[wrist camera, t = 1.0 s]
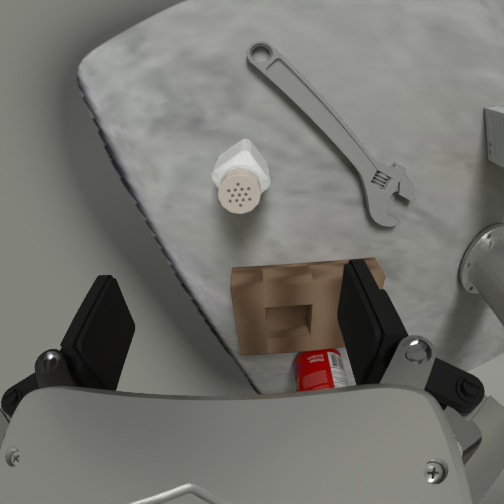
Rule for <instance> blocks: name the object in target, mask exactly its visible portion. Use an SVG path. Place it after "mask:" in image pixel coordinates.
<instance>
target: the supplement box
mask: <svg viewBox="0 0 504 504" xmlns="http://www.w3.org/2000/svg"><path fill="white" fill-rule="evenodd" d="M485 120H486V133H487V150H488V160H490V161H492V162H493V163H495V164H497V165H499V166H501V167H502V168H504V106H502V107H485Z"/></svg>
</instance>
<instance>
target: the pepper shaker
mask: <svg viewBox="0 0 504 504" xmlns="http://www.w3.org/2000/svg"><path fill="white" fill-rule="evenodd" d="M211 177H212V181H213V182H214V183H215V185H216V186H217V188H218V189H219V191H218V198H219V201H220V203H221V205H222V207H224V208H225V209H227V210H228V211H229V212H231V213H237V214H244V213H247V212H250V211H252V210H253V209H254V208H255V207H256V206H257V205H258V204H259V202H260V197H261V193H263V192H264V191H266V190H267V189H268V188H269V186H270V184H271V181H270V175H269V170H268V165H267V162H266V161H265V159H264V158H263V157H262V155H261V154H260V152H259V151H258V150H257V148H256V147H255V146H254V144H253V143H252V142H251V141H250V140H249V139H243V140H241V141H239V142H238V143H237V144H235V145H234V146H232V147H231V148H229V149H228V150H227V151H225V152H224V153H222V154H221V155H220V156H219V157H218V159H217V161H216V163H215V166H214V168H213V171H212V173H211Z"/></svg>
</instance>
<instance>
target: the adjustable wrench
mask: <svg viewBox="0 0 504 504" xmlns="http://www.w3.org/2000/svg"><path fill="white" fill-rule="evenodd" d="M256 47H265V48H267V49H268V51H269V53H270V56H269V58H268V59H267V60H266V61H264V62H258V61H256V60H254V58H253V57H252V52H253V50H254V49H255V48H256ZM247 57H248V60H249V61H250V63H251V64H253V65H254V66H255V67H256V68H257V69H258V70H259V71H261V72H262V73H263V74H264V75H265V76H266V77H267V78H269V79H270V80H271V81H272V82H273V83H274V84H275V85H276V86H277V87H278V88H279V89H281V90H282V91H283V92H284V93H285V94H286V95H287V96H288V97H289V98H290V99H291V100H292V101H293V102H294V103H295V104H296V105H297V106H298V107H299V108H300V109H301V110H302V111H303V112H304V113H305V114H306V115H307V116H308V117H309V118H310V119H311V120H312V121H313V122H314V123H315V124H316V125H317V126H318V127H319V128H320V129H321V130H322V131H323V132H324V133H325V134H326V135H327V136H328V138H329V139H330V140H331V141H332V142H333V143H334V144H335V145H336V146H337V147H338V148H339V150H340V151H341V152H342V153H343V154H344V155H345V156H346V157H347V159H348V160H349V161H350V162H351V163H352V164H353V166H354V167H355V168H356V170H357V172H358V174H359V176H360V179H361V183H362V186H363V190H364V195H365V201H366V208H367V210H368V212H369V214H370V215H371V217H372V218H373V219H374V221H375V222H377V223H378V224H380V225H382V226H387V227H393V226H397V225H399V224H400V223H401V221H400V220H399V219H398V218H397V217H395V216H393V215H391V214H389V213H387V202H388V201H389V199H390V198H391V196H392V194H393V193H394V192H397V193H398V194H399V195H401V196H403V197H405V198H406V199H408V200H410V201H412V202H414V200H415V191H414V187H413V184H412V182H411V180H410V179H409V177H408V176H407V175H406V174H405V173H404V172H405V170H406V168H404V167H403V166H401V165H398V164H397V163H394V165H393V166H389V165H385V164H382V163H379V162H377V161H376V160H375V159H374V158H373V157H372V156H371V155H370V153H369V152H368V151H367V149H366V148H365V147H364V146H363V144H362V143H361V142H360V140H359V139H358V138H357V137H356V135H355V134H354V133H353V132H352V130H351V129H350V128H349V127H348V125H347V124H346V123H345V122H344V121H343V119H342V118H341V117H340V116H339V115H338V114H337V112H336V111H335V110H334V109H333V108H332V107H331V106H330V104H329V103H328V102H327V101H326V100H325V99H324V98H323V97H322V95H321V94H320V93H319V92H318V91H317V90H316V89H315V88H314V87H313V86H312V85H311V84H310V83H309V82H308V80H307V79H306V78H305V77H304V76H303V75H302V74H301V73H300V72H299V71H298V70H297V69H296V68H295V67H294V66H293V65H292V64H291V63H290V62H289V61H288V60H287V59H286V58H285V57H284V56H282V55H281V54H280V53H279V52H278V51H277V50H276V49H275V48H274V47H273V46H272V45H271V44H269V43H267V42H264V41H257V42H254V43H253V44H251V45H250V46H249V48H248V50H247ZM377 170H378V172H376V171H377ZM375 173H376V175H375ZM373 177H374V179H373ZM372 180H373V181H372ZM371 181H372V182H371Z"/></svg>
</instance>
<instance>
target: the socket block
mask: <svg viewBox="0 0 504 504" xmlns="http://www.w3.org/2000/svg"><path fill="white" fill-rule="evenodd" d="M351 260H354V259H351ZM364 261H365V262H366V264H367V266H368V268H369V270H370V272H371V273H372V275H373V277H374V279H375V281H376V283H377V285H378V287H379V289H383V285H384V280H385V275H384V273H383V271H382V270H381V268H380V266H379V264H378V263H377V261H376V259H375V258H364ZM348 262H349V260H338V261H325V262H311V263H297V264H283V265H268V266H253V267H237V268H232V276H231V288H230V289H231V295H232V302H233V308H234V314H235V320H236V326H237V332H238V338H239V344H240V350H241V355H258V354H275V353H289V352H301V351H311V350H321V349H330V348H339V347H345V343H344V340H343V337H342V333H341V330H340V327H339V323H338V320H337V311H338V305H339V298H340V291H341V284H342V277H343V269H344V264H348Z"/></svg>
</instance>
